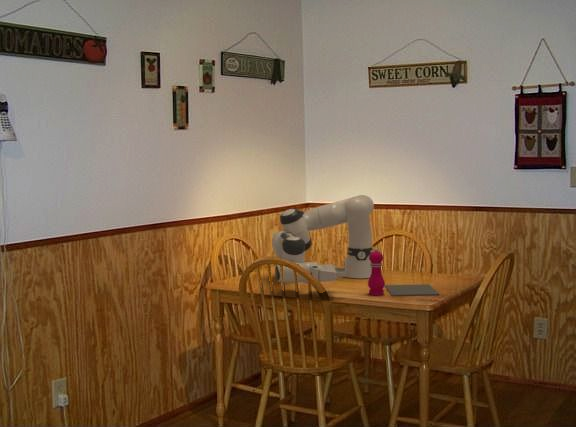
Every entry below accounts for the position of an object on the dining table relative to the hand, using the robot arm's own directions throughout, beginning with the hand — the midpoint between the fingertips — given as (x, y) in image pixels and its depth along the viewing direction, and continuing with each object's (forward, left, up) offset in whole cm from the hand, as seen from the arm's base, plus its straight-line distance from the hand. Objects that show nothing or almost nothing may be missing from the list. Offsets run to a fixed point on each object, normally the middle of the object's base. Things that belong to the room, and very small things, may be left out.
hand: (345, 271), depth 336 cm
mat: (-6, +29, -10) cm, 31 cm away
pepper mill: (0, +13, -10) cm, 16 cm away
